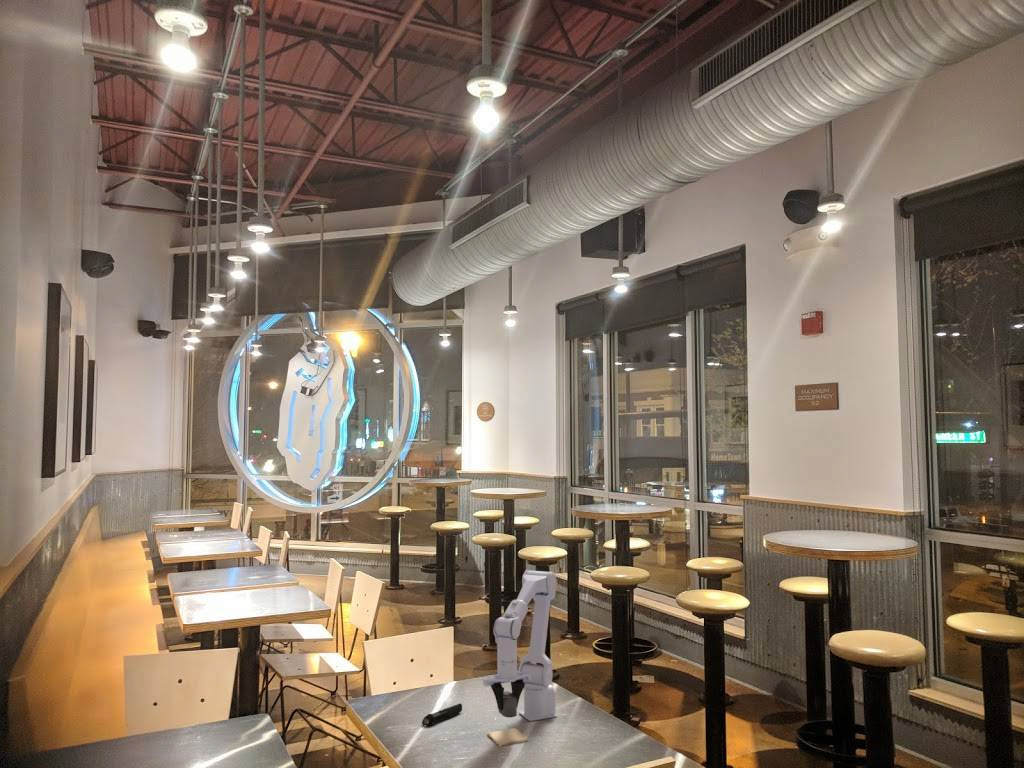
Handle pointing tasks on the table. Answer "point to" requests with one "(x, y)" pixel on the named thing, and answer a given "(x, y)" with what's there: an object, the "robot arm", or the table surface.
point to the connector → (509, 705)
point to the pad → (507, 736)
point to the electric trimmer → (442, 715)
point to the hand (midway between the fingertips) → (507, 708)
